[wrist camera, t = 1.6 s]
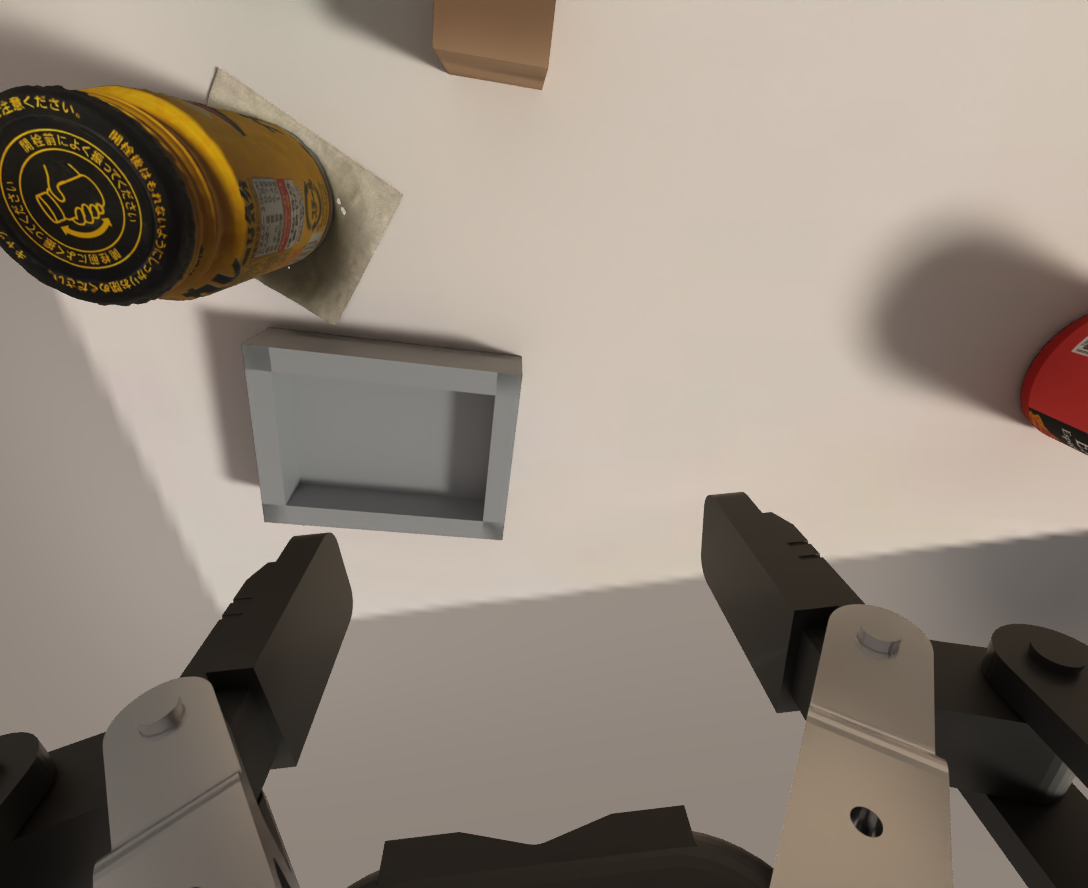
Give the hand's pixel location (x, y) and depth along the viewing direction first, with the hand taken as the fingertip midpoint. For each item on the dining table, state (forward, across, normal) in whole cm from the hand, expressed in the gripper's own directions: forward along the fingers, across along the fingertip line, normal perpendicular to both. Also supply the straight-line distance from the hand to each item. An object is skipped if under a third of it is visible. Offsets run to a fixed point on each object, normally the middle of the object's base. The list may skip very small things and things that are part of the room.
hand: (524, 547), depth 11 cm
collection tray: (+18, +7, +4) cm, 20 cm away
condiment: (+18, +10, -7) cm, 22 cm away
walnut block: (+18, -1, -14) cm, 22 cm away
